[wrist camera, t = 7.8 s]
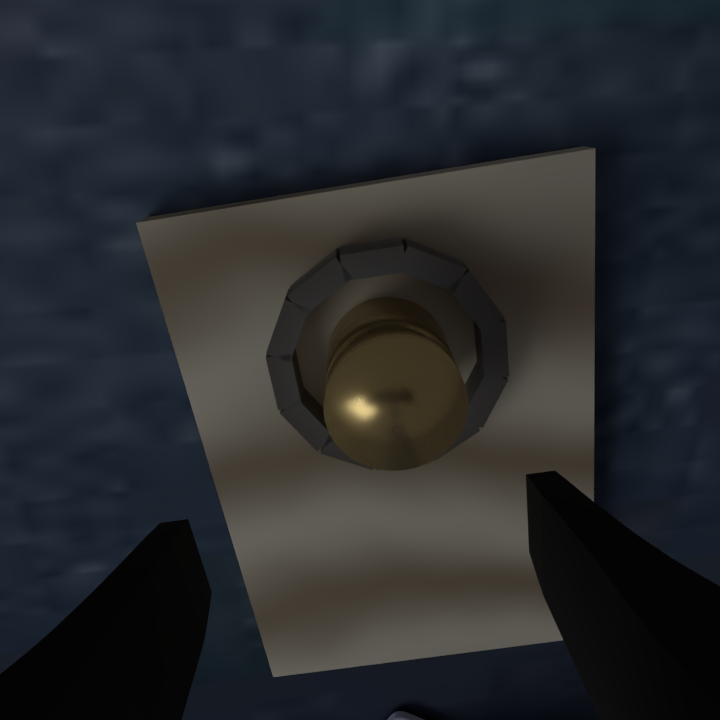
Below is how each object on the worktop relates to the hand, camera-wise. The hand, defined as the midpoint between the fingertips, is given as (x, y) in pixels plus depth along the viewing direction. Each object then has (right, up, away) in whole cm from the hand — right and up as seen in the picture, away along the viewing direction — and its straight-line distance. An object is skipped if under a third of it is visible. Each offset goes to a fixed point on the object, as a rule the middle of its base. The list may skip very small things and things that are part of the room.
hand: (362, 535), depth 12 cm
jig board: (+2, 0, +10) cm, 10 cm away
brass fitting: (+1, +4, +7) cm, 8 cm away
